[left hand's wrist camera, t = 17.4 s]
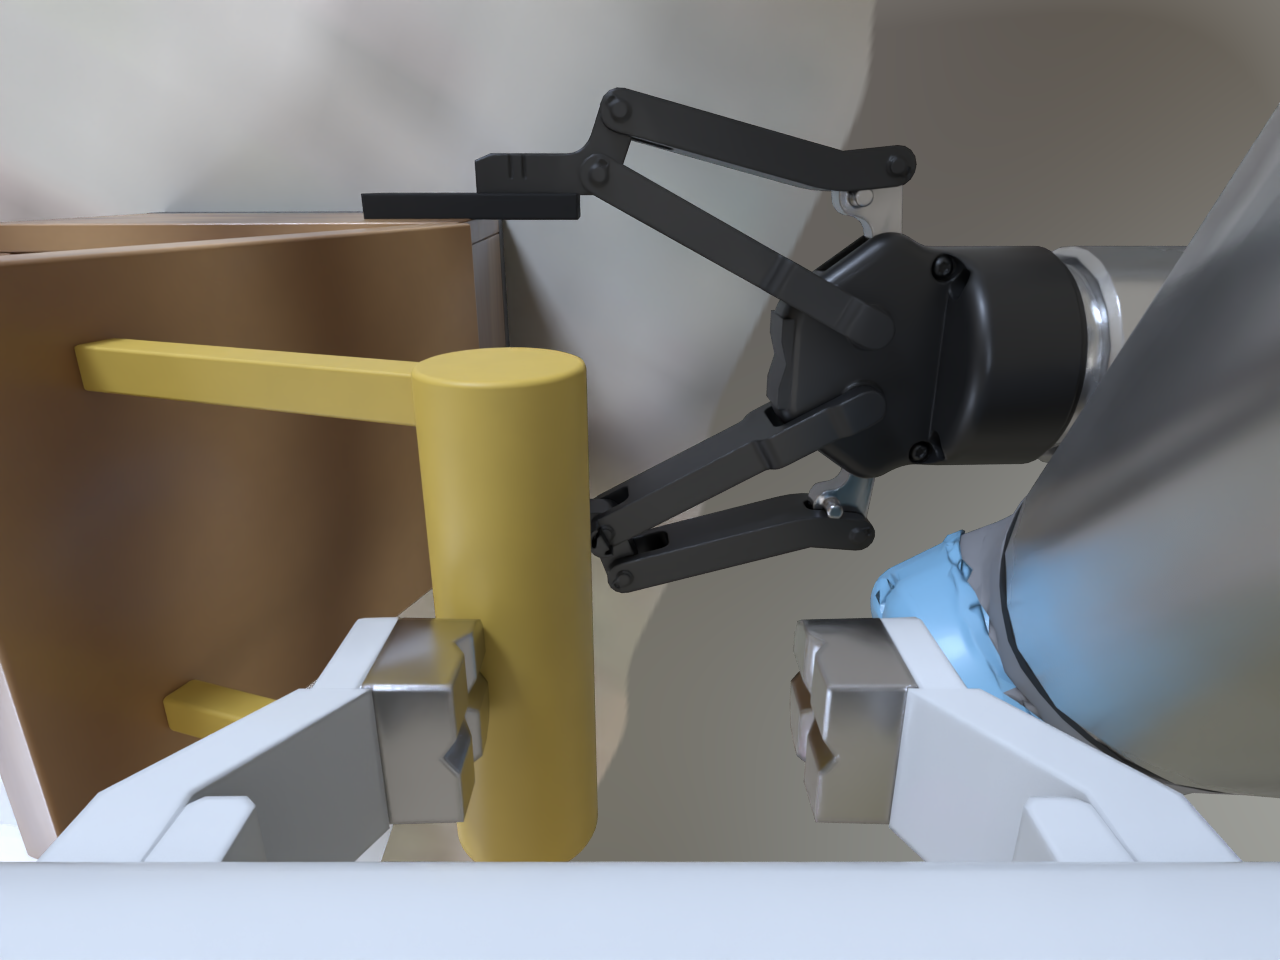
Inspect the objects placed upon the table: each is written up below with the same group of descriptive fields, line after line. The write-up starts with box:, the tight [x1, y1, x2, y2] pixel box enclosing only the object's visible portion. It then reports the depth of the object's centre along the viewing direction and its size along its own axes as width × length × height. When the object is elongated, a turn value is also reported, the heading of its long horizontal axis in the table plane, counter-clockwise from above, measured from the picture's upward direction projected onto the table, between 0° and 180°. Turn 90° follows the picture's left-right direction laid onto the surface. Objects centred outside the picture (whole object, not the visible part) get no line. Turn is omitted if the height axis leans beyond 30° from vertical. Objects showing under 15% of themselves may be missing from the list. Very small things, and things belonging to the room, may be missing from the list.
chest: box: [0, 212, 510, 349], centre depth 28 cm, size 13×9×10 cm
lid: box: [0, 223, 598, 862], centre depth 16 cm, size 14×9×9 cm
